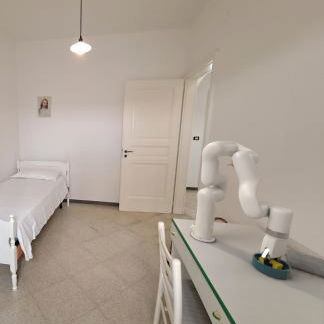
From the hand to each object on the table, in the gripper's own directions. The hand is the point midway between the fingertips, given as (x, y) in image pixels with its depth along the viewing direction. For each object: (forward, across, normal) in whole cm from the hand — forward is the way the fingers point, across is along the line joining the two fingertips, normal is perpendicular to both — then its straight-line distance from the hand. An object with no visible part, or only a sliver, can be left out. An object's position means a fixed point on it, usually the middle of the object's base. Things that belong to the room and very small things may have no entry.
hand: (270, 268), depth 97 cm
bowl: (+1, 0, 0) cm, 1 cm away
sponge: (0, 0, 0) cm, 0 cm away
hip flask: (-1, -19, -3) cm, 19 cm away
